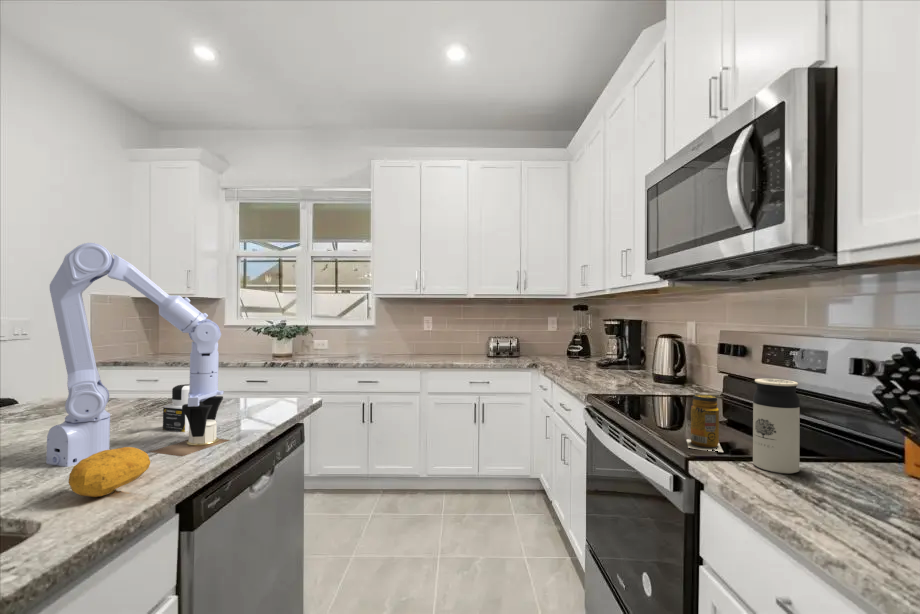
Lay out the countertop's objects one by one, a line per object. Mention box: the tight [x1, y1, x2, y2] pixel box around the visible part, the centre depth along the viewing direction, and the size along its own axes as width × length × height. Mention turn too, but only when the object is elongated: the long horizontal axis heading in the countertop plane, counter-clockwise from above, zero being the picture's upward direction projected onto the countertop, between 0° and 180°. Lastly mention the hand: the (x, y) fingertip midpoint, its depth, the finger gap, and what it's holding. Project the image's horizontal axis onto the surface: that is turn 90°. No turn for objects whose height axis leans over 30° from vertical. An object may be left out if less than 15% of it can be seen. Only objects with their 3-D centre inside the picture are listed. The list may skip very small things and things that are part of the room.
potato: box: [68, 446, 151, 498], centre depth 80 cm, size 8×14×7 cm, turn 172°
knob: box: [186, 437, 220, 446], centre depth 106 cm, size 6×6×3 cm
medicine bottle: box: [162, 383, 190, 433], centre depth 119 cm, size 7×7×12 cm
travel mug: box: [752, 378, 801, 475], centre depth 97 cm, size 8×8×18 cm
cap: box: [188, 419, 218, 444], centre depth 106 cm, size 5×5×4 cm
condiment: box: [686, 393, 724, 453], centre depth 112 cm, size 7×8×12 cm
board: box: [149, 438, 231, 457], centre depth 103 cm, size 13×9×1 cm
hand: (203, 432), depth 106 cm, fingers open, 6 cm apart
